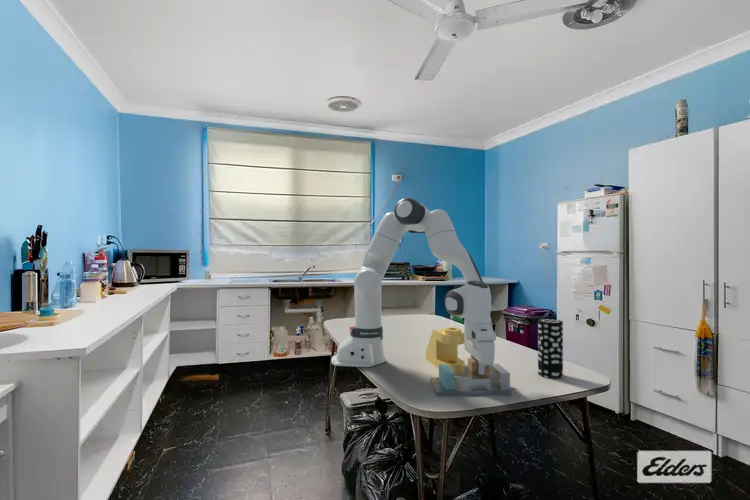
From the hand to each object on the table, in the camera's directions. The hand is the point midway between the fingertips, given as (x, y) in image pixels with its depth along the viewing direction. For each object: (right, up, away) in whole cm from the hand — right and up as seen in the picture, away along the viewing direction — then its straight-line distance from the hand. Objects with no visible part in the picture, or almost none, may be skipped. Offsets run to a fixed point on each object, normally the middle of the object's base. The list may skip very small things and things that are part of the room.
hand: (478, 370), depth 125 cm
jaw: (-11, -4, -1) cm, 12 cm away
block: (0, -2, 0) cm, 2 cm away
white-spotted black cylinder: (+30, -6, +12) cm, 33 cm away
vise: (-3, -6, 0) cm, 7 cm away
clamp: (-6, -6, +23) cm, 25 cm away
